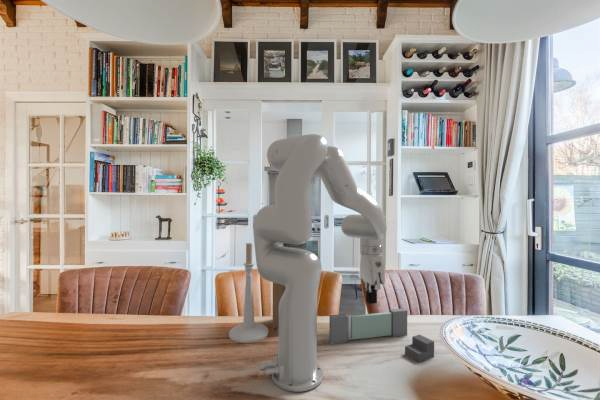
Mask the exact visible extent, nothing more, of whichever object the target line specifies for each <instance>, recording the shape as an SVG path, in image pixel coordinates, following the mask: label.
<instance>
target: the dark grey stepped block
mask: <svg viewBox="0 0 600 400" xmlns="http://www.w3.org/2000/svg"><path fill="white" fill-rule="evenodd" d="M411 338H412V339H411V340H412V341H411V342H412V343H411V344H408V345H405V346H404V354H405V356H408V357H409V358H411V359H413V360H414V361H416V362H418V363H421V362H424V361H427V360H429V359H432V358H434V357H435V341H434V340H433V339H430V338H428V337H427V336H423V335H422V334H417V335H414V336H412V337H411Z"/></svg>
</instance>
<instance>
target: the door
mask: <svg viewBox="0 0 600 400" xmlns="http://www.w3.org/2000/svg"><path fill="white" fill-rule="evenodd" d="M346 316H347V341H351V340H359V339H361V340H362V339H368V338H369V339H370V338H378V337H379V338H380V337H387V336H392V335H391V313H390V311H388V312H387V311H385V312H377V313H366V314H364V313H363V314H358V315H357V314H354V315H346Z"/></svg>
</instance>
